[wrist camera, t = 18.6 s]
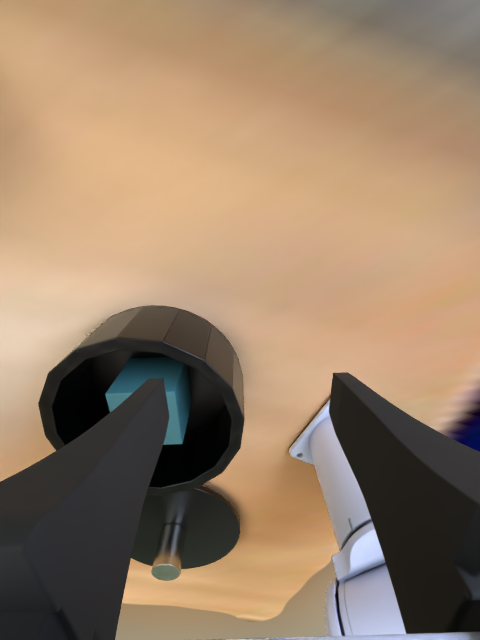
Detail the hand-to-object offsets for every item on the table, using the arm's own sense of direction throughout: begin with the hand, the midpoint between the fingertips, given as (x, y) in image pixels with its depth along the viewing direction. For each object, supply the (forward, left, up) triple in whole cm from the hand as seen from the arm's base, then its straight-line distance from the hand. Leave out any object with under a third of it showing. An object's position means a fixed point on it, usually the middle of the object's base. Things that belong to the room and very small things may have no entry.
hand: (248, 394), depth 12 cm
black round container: (+3, +8, -9) cm, 13 cm away
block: (+3, +8, -9) cm, 12 cm away
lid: (-5, +24, -9) cm, 26 cm away
